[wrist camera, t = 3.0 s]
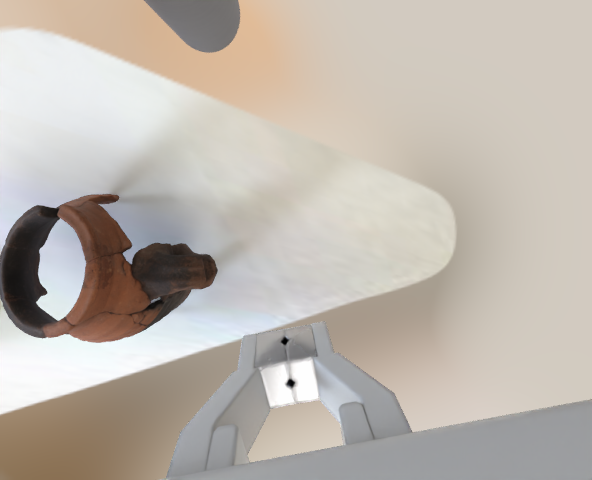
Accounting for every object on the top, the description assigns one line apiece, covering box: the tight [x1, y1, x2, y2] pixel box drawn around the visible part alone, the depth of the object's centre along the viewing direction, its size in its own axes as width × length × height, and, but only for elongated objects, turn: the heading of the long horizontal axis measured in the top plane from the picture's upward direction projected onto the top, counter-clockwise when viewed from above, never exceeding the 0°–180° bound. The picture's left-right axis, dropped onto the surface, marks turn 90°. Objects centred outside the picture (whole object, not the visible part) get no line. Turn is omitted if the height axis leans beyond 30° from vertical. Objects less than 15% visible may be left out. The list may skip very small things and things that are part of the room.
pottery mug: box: [0, 194, 217, 343], centre depth 18 cm, size 12×10×8 cm
